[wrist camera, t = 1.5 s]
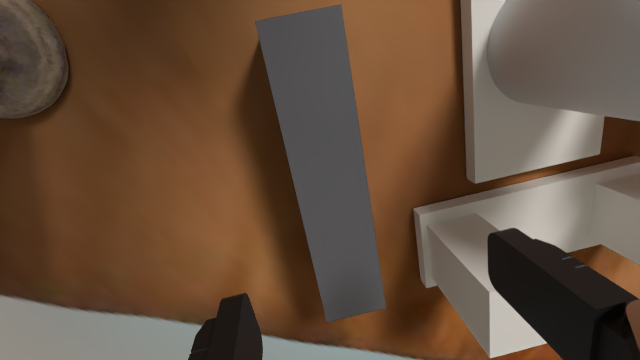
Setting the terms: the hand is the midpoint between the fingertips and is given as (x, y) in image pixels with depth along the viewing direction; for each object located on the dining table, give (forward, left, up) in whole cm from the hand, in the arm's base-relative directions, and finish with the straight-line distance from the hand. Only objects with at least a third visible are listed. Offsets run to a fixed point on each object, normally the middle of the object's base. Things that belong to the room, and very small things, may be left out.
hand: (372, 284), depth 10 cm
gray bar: (0, 0, -14) cm, 14 cm away
